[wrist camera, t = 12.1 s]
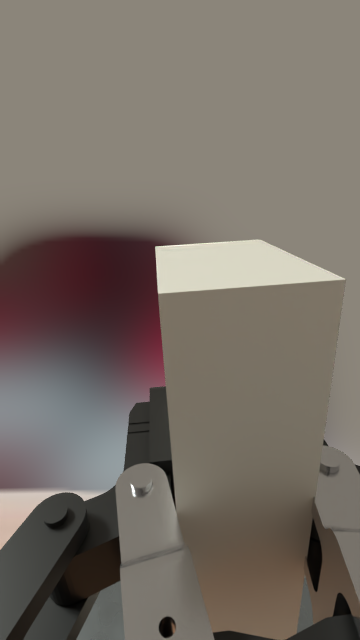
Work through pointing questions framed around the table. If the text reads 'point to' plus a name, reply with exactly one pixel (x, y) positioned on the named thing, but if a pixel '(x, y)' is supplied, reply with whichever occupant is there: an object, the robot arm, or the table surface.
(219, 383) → the tall white rectangular block
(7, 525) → the table surface
